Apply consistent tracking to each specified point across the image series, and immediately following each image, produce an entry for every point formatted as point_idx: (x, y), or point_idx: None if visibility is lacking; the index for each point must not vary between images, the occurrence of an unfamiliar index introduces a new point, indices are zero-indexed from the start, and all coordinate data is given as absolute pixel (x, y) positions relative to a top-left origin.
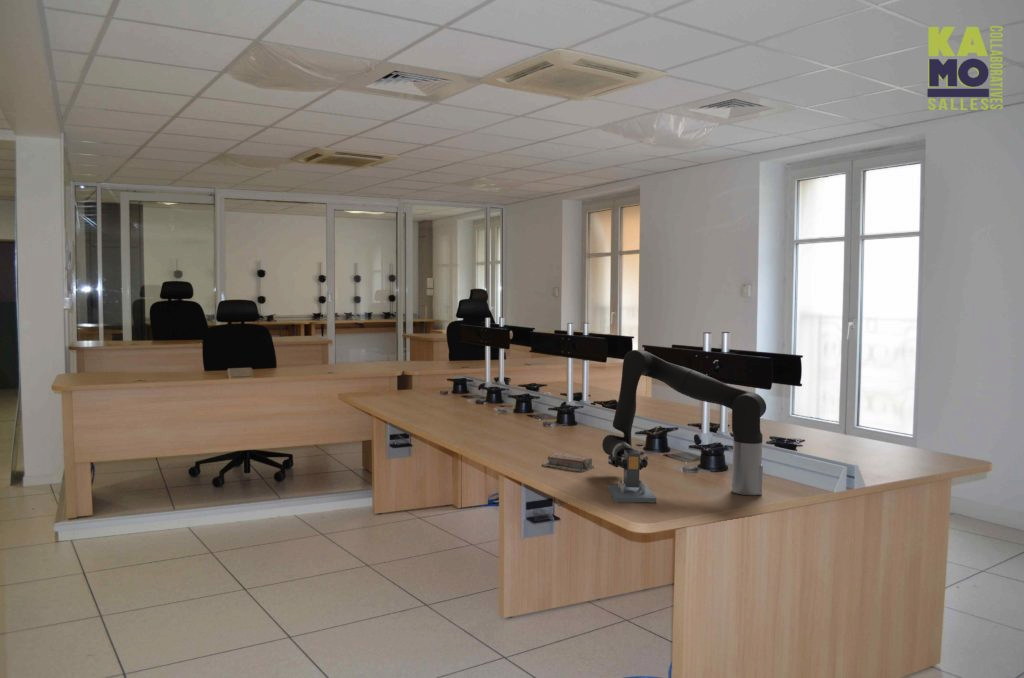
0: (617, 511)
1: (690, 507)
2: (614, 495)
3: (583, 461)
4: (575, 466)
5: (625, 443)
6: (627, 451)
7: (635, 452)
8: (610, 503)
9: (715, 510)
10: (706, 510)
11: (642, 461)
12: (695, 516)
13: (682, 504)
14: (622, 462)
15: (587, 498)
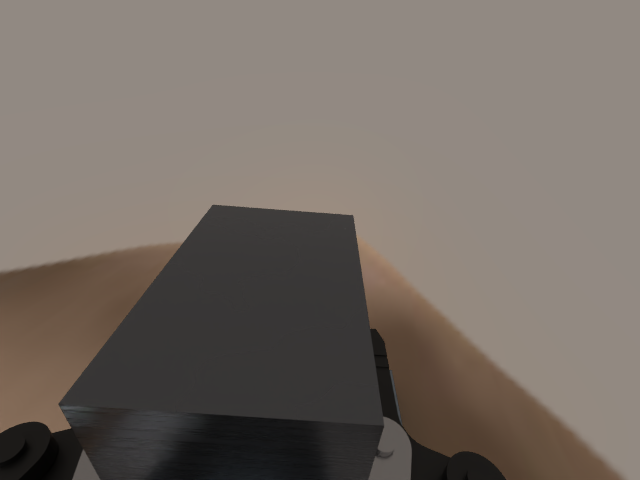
0: (379, 287)
1: (88, 308)
2: (397, 408)
3: None
4: None
5: None
6: (337, 281)
7: (236, 239)
8: (408, 370)
9: (30, 277)
10: (64, 279)
11: (60, 461)
12: (158, 244)
13: (81, 343)
14: (382, 394)
15: (551, 469)
